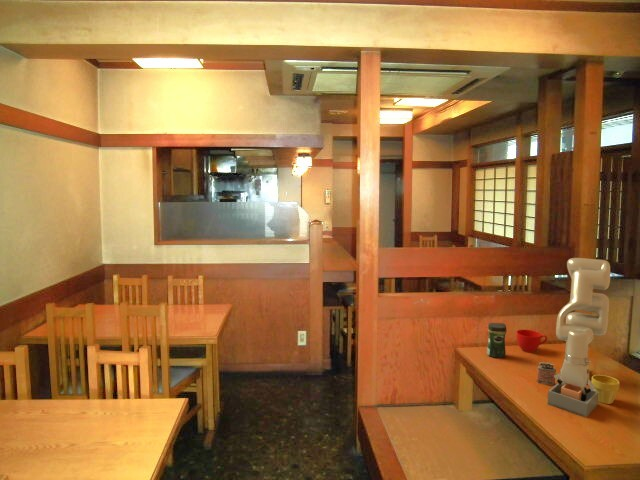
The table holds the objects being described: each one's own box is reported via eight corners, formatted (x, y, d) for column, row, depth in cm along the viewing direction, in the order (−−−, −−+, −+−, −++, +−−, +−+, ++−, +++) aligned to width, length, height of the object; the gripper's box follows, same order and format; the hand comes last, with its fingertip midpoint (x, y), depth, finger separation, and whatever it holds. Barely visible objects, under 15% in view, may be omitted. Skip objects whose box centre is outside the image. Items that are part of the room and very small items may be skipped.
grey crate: (560, 392, 200) (561, 380, 199) (597, 405, 189) (598, 392, 188) (547, 403, 190) (548, 390, 189) (586, 417, 179) (587, 403, 178)
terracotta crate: (567, 393, 195) (568, 381, 194) (585, 399, 190) (586, 386, 189) (560, 400, 189) (561, 387, 188) (578, 406, 184) (579, 393, 183)
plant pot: (591, 392, 201) (593, 372, 199) (619, 399, 194) (621, 378, 193) (588, 401, 193) (590, 379, 192) (616, 408, 186) (618, 386, 185)
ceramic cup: (551, 354, 245) (553, 337, 244) (521, 354, 246) (522, 337, 244) (540, 346, 258) (541, 329, 257) (511, 345, 258) (512, 329, 257)
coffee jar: (503, 353, 247) (504, 321, 245) (506, 358, 239) (508, 325, 237) (485, 352, 248) (486, 320, 246) (488, 357, 241) (490, 325, 238)
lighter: (554, 382, 211) (555, 362, 209) (555, 385, 207) (557, 365, 206) (535, 380, 213) (537, 360, 212) (536, 383, 210) (538, 363, 209)
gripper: (602, 362, 183) (598, 403, 186) (557, 351, 196) (554, 388, 198) (596, 368, 178) (592, 409, 180) (551, 355, 191) (548, 394, 193)
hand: (572, 398), depth 189 cm, fingers closed on terracotta crate, 7 cm apart
